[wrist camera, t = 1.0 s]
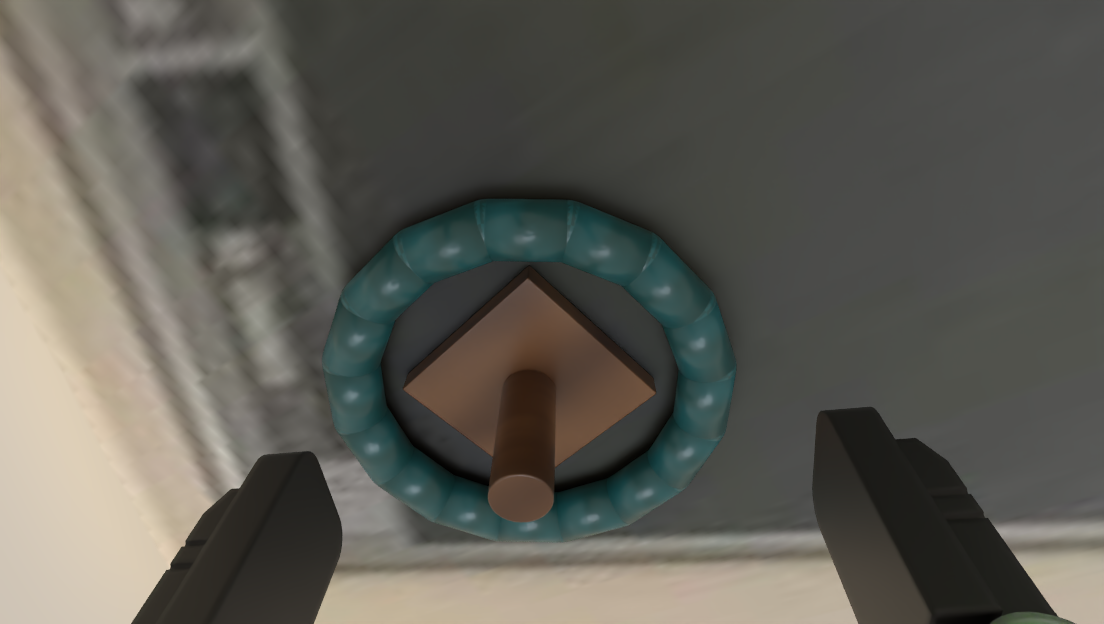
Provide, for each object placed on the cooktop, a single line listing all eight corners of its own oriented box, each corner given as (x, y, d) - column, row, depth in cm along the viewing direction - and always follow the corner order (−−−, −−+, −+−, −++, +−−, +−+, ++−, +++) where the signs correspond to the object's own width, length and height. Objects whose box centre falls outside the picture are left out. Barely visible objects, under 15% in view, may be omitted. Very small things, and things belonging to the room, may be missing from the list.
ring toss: (407, 374, 31) (364, 496, 25) (529, 264, 28) (517, 369, 22) (531, 468, 34) (523, 602, 27) (654, 377, 31) (678, 502, 25)
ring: (257, 371, 31) (235, 403, 29) (527, 94, 25) (523, 109, 23) (532, 563, 38) (530, 601, 35) (806, 380, 31) (823, 413, 29)
